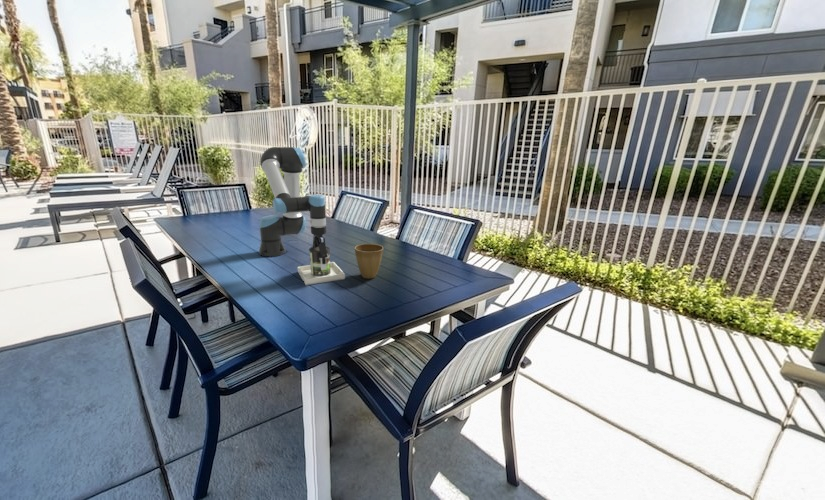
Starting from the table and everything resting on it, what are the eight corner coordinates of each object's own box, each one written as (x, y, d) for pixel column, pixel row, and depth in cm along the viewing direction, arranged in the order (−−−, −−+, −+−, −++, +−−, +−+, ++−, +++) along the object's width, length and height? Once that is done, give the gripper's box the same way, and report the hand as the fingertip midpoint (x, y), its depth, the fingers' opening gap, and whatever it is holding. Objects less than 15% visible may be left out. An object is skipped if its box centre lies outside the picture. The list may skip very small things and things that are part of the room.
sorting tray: (297, 272, 184) (297, 266, 183) (334, 266, 193) (334, 261, 192) (305, 285, 167) (305, 279, 166) (345, 279, 177) (345, 273, 176)
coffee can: (334, 273, 181) (333, 248, 177) (319, 279, 173) (317, 252, 169) (322, 269, 187) (321, 244, 183) (306, 274, 179) (304, 248, 175)
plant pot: (378, 282, 174) (378, 252, 169) (351, 279, 176) (350, 250, 171) (386, 272, 187) (386, 244, 183) (360, 269, 190) (360, 242, 185)
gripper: (305, 221, 181) (308, 259, 187) (316, 232, 160) (319, 274, 166) (319, 220, 184) (321, 257, 191) (332, 230, 164) (334, 272, 170)
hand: (320, 265), depth 179 cm, fingers open, 13 cm apart
